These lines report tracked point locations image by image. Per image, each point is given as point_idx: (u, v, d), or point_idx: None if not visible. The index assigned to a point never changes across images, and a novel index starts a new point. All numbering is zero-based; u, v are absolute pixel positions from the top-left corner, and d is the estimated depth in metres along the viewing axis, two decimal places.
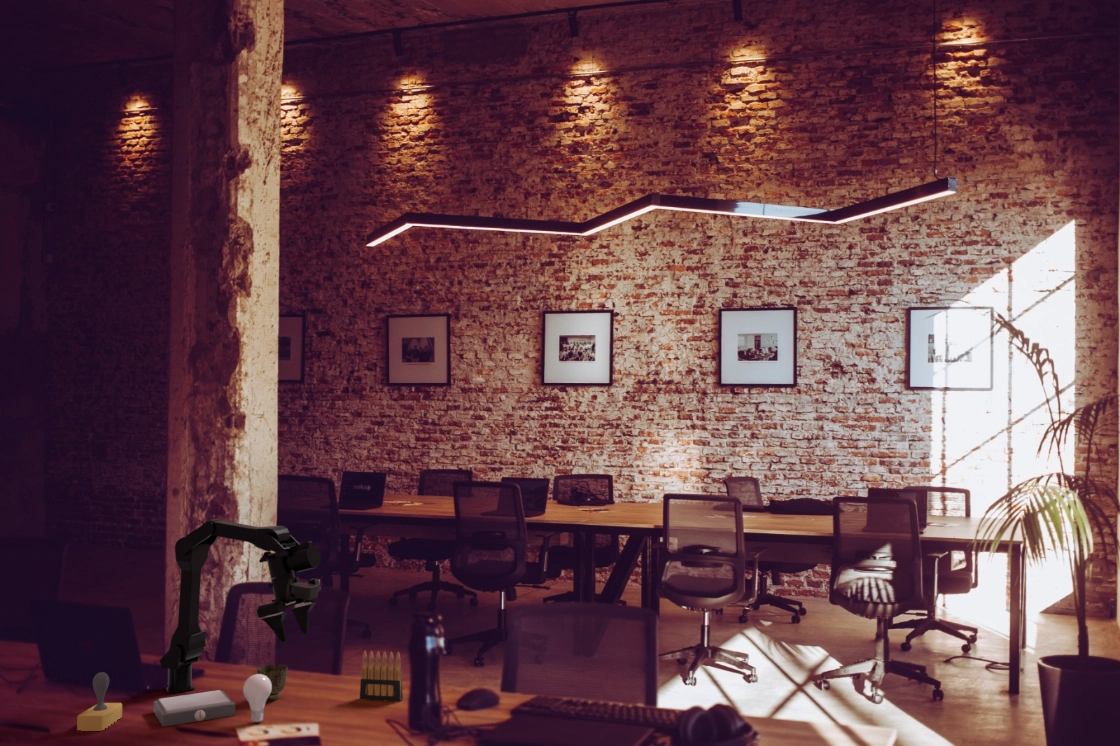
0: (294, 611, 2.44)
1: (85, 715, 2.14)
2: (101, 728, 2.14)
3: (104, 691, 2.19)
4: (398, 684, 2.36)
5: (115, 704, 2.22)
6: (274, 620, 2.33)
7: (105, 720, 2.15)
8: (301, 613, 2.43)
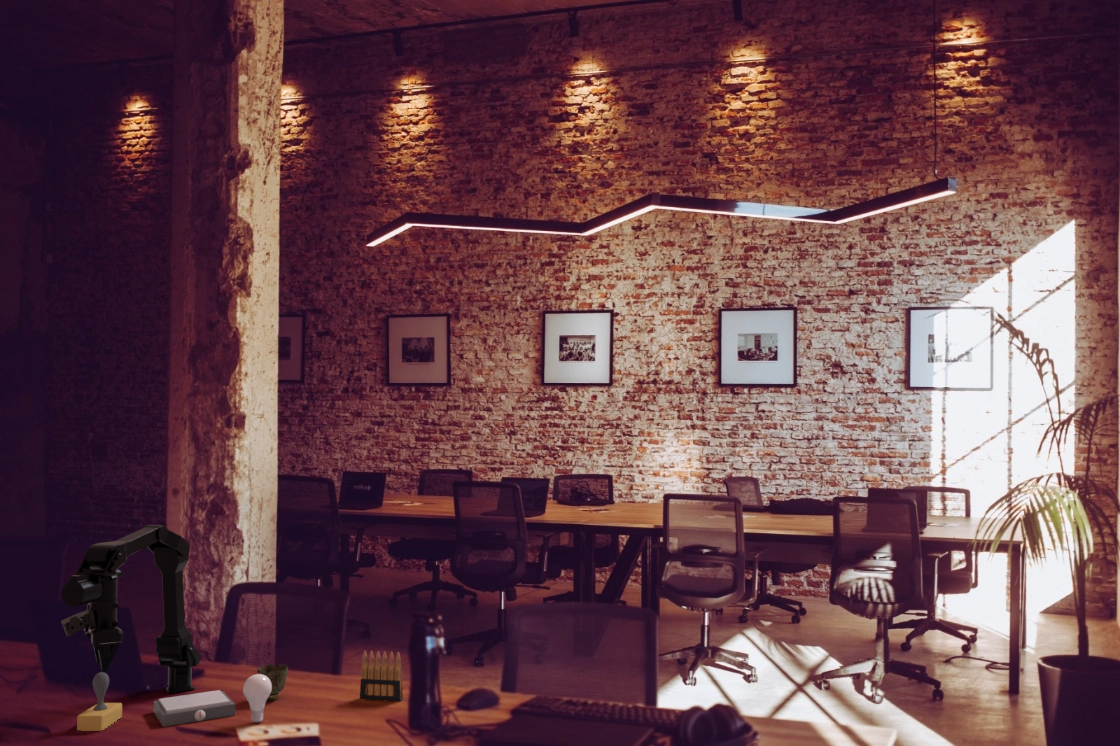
0: None
1: (85, 715, 2.14)
2: (101, 728, 2.14)
3: (104, 691, 2.19)
4: (398, 684, 2.36)
5: (115, 704, 2.22)
6: None
7: (105, 720, 2.15)
8: None
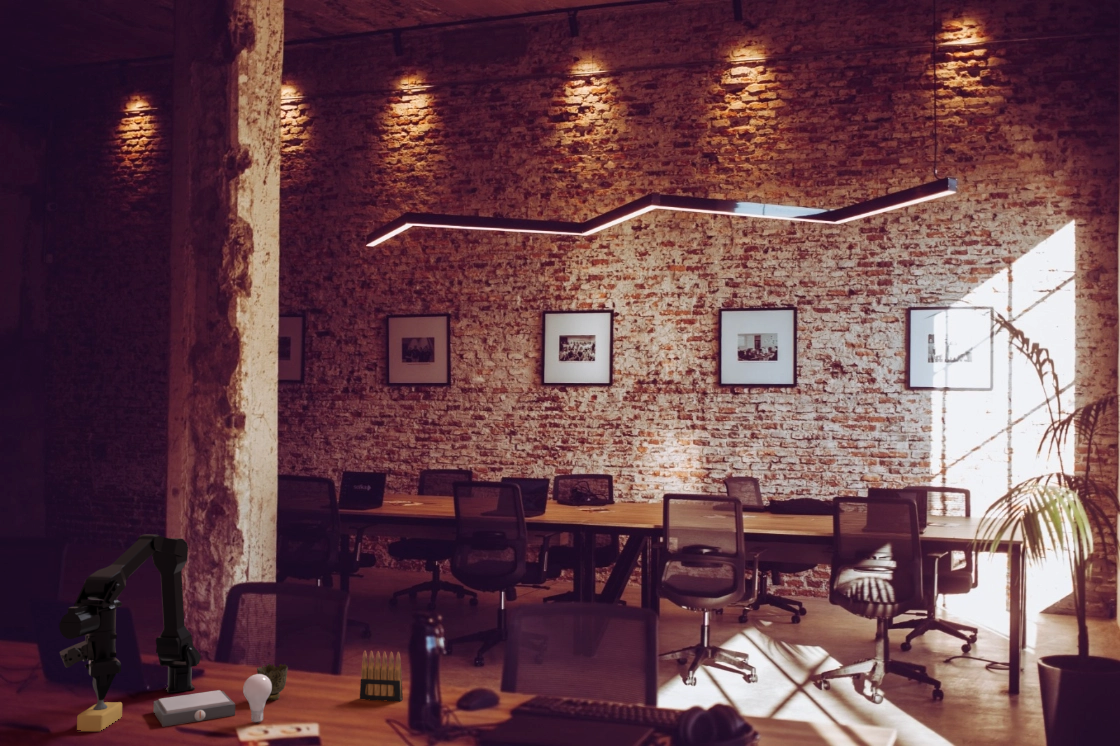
0: None
1: (85, 714, 2.14)
2: (101, 728, 2.14)
3: None
4: (398, 684, 2.36)
5: (115, 703, 2.22)
6: None
7: (105, 719, 2.15)
8: None
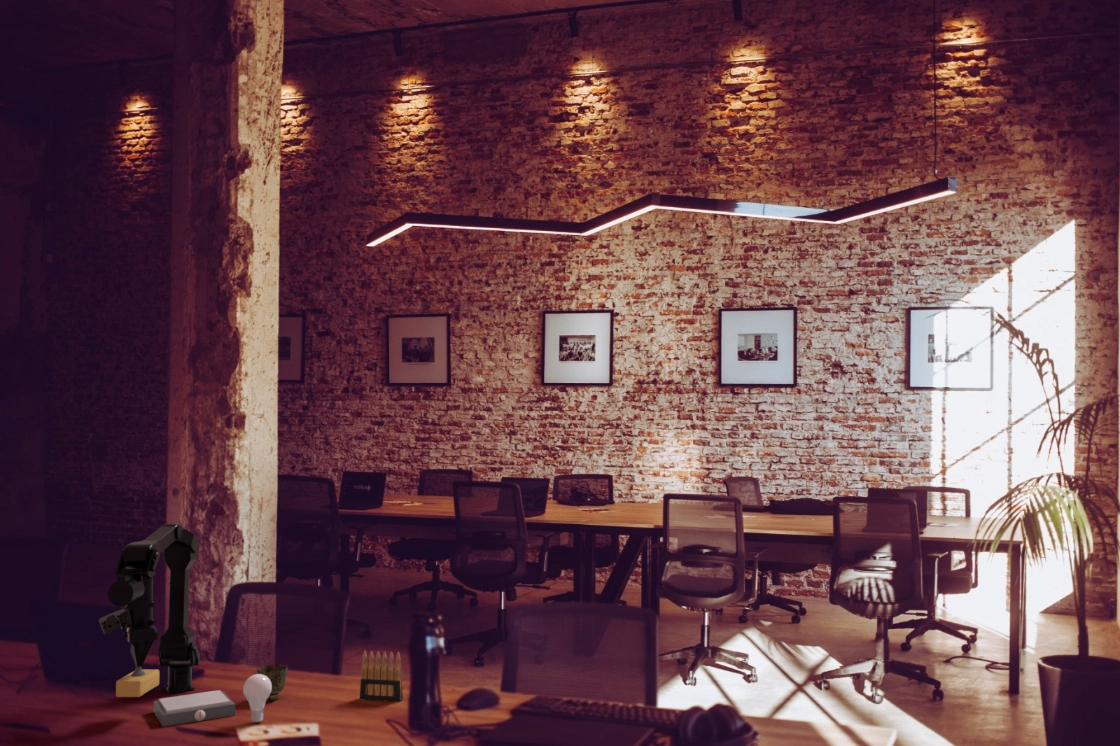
0: None
1: (124, 680, 2.18)
2: (139, 694, 2.17)
3: None
4: (398, 684, 2.36)
5: (152, 670, 2.26)
6: None
7: (143, 685, 2.19)
8: None
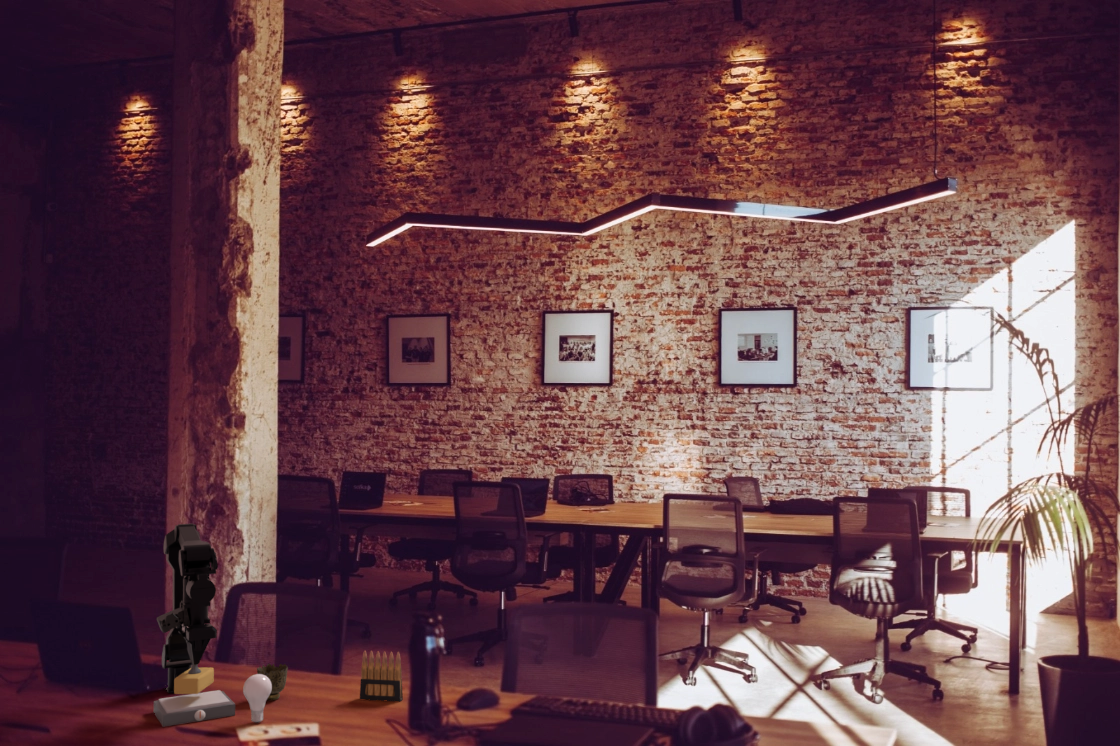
0: None
1: (182, 678, 2.23)
2: (197, 691, 2.22)
3: None
4: (398, 684, 2.36)
5: (207, 668, 2.31)
6: None
7: (200, 682, 2.24)
8: None
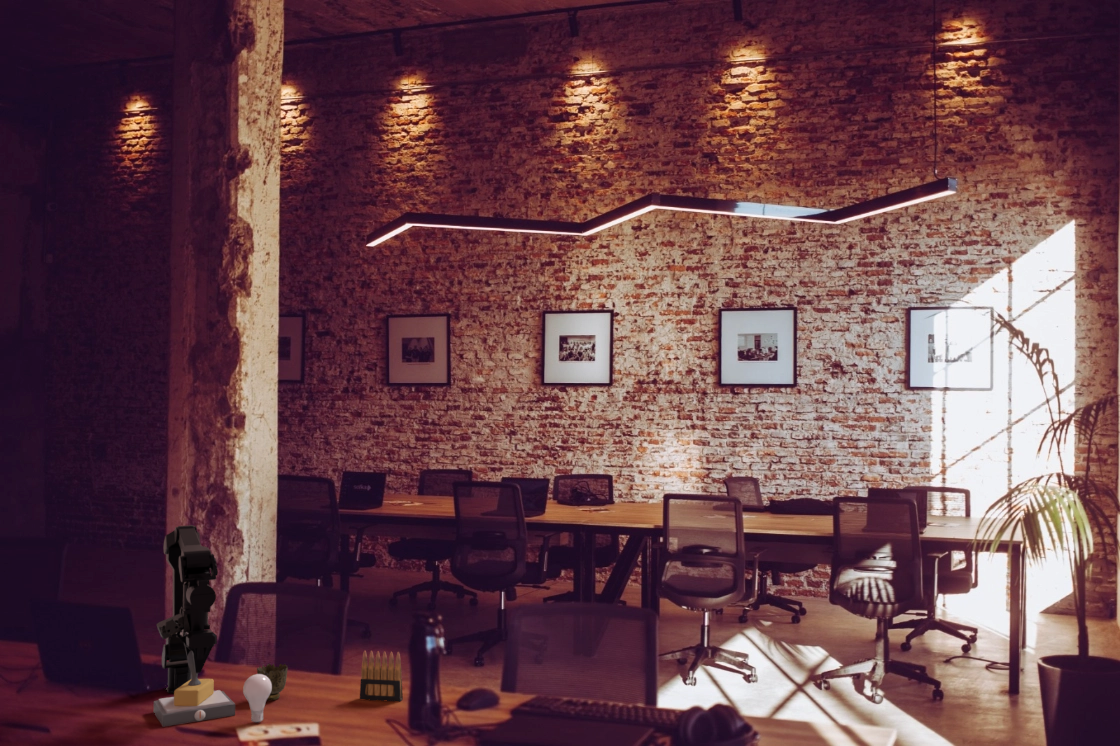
0: None
1: (182, 690, 2.22)
2: (197, 702, 2.22)
3: None
4: (398, 684, 2.36)
5: (207, 680, 2.30)
6: None
7: (200, 694, 2.24)
8: None
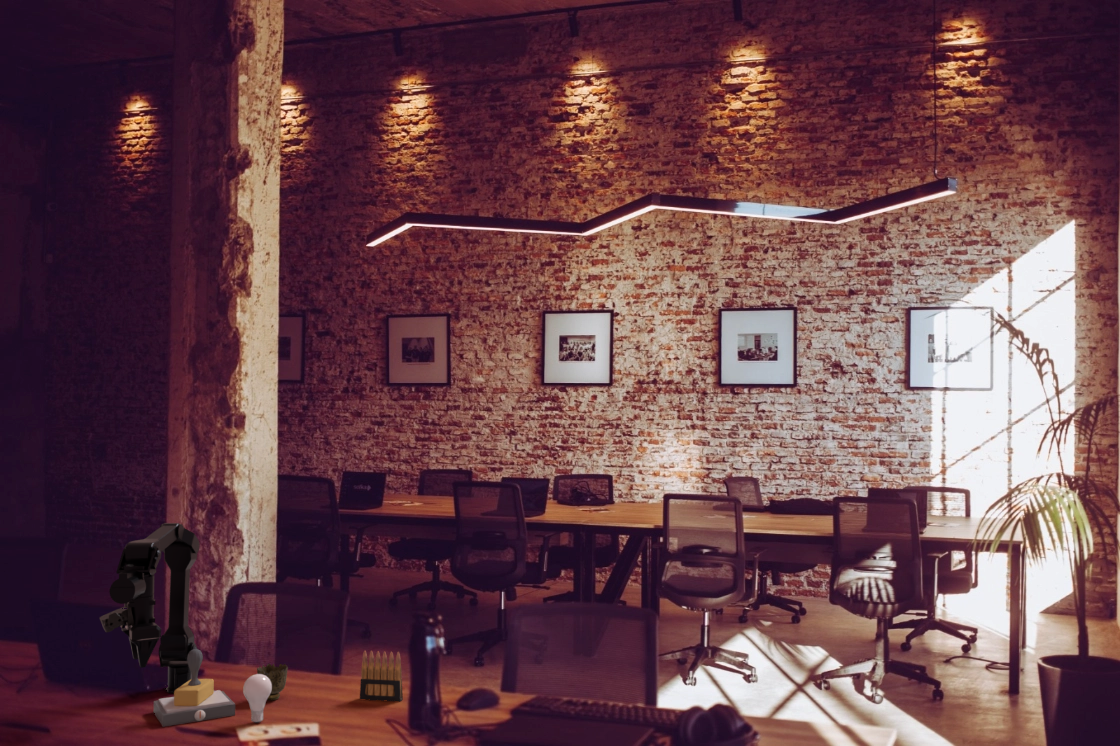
0: None
1: (182, 690, 2.22)
2: (197, 702, 2.22)
3: (198, 667, 2.27)
4: (398, 684, 2.36)
5: (207, 680, 2.30)
6: None
7: (200, 694, 2.24)
8: None
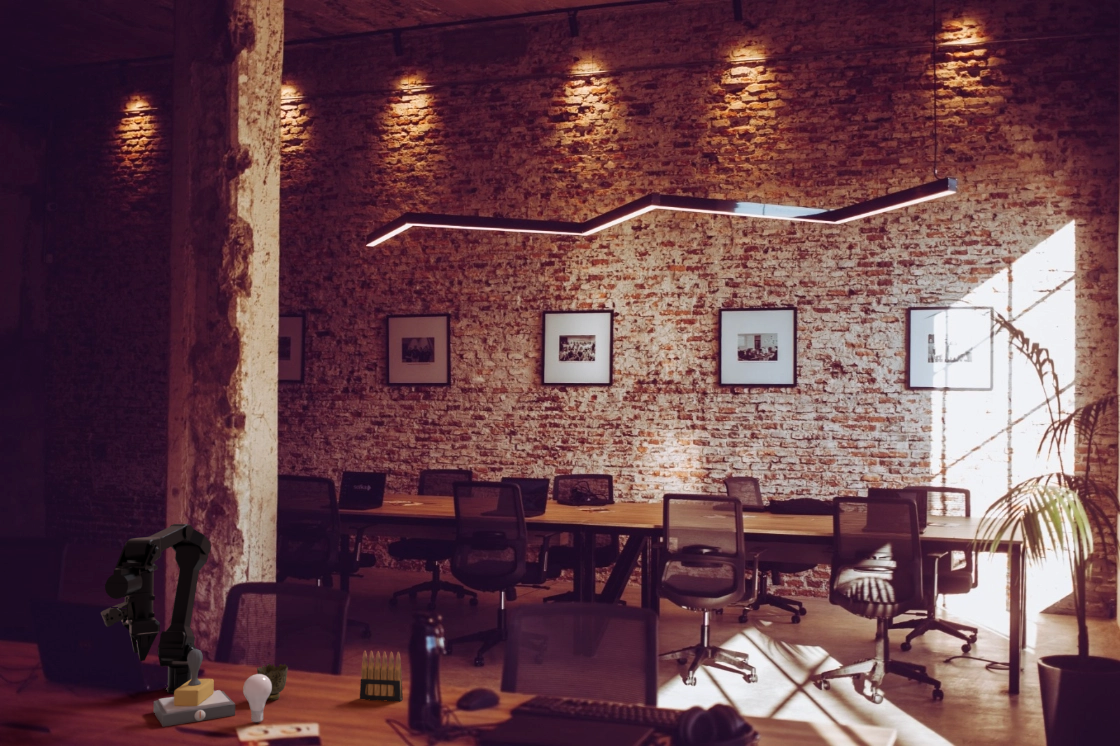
0: None
1: (182, 690, 2.22)
2: (197, 702, 2.22)
3: (198, 667, 2.27)
4: (398, 684, 2.36)
5: (207, 680, 2.30)
6: None
7: (200, 694, 2.24)
8: None
